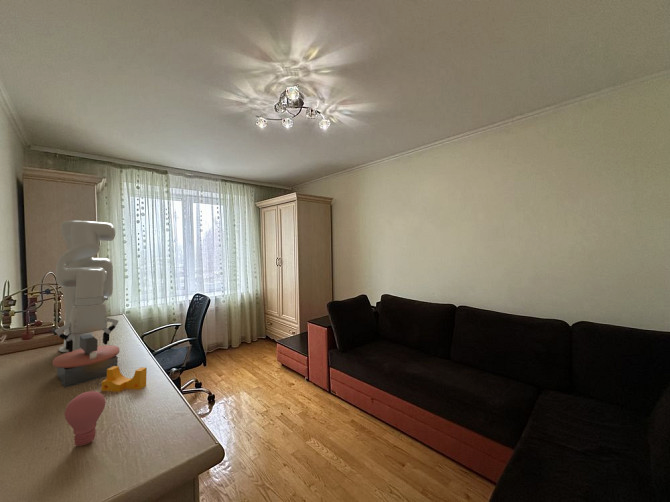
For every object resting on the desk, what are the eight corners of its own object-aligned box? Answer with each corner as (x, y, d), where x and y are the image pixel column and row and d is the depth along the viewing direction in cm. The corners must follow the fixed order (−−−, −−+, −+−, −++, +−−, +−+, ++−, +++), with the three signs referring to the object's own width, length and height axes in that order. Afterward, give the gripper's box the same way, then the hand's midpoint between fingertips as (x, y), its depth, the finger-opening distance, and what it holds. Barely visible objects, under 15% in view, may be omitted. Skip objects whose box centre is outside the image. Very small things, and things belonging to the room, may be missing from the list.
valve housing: (57, 375, 96) (57, 359, 96) (106, 363, 107) (106, 348, 107) (64, 387, 87) (65, 370, 87) (117, 372, 99) (117, 357, 99)
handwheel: (48, 358, 95) (49, 339, 95) (111, 345, 110) (112, 328, 110) (57, 372, 85) (58, 350, 85) (125, 355, 99) (126, 336, 99)
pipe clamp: (101, 391, 86) (101, 371, 86) (113, 384, 90) (113, 366, 91) (135, 393, 85) (136, 373, 86) (146, 386, 90) (146, 367, 90)
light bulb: (82, 433, 66) (83, 386, 66) (111, 432, 67) (113, 385, 67) (54, 454, 59) (55, 402, 59) (88, 453, 60) (89, 401, 60)
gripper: (115, 297, 107) (114, 339, 106) (54, 303, 93) (52, 351, 92) (121, 299, 102) (120, 343, 102) (57, 306, 88) (56, 357, 88)
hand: (88, 347), depth 97 cm, fingers open, 9 cm apart
